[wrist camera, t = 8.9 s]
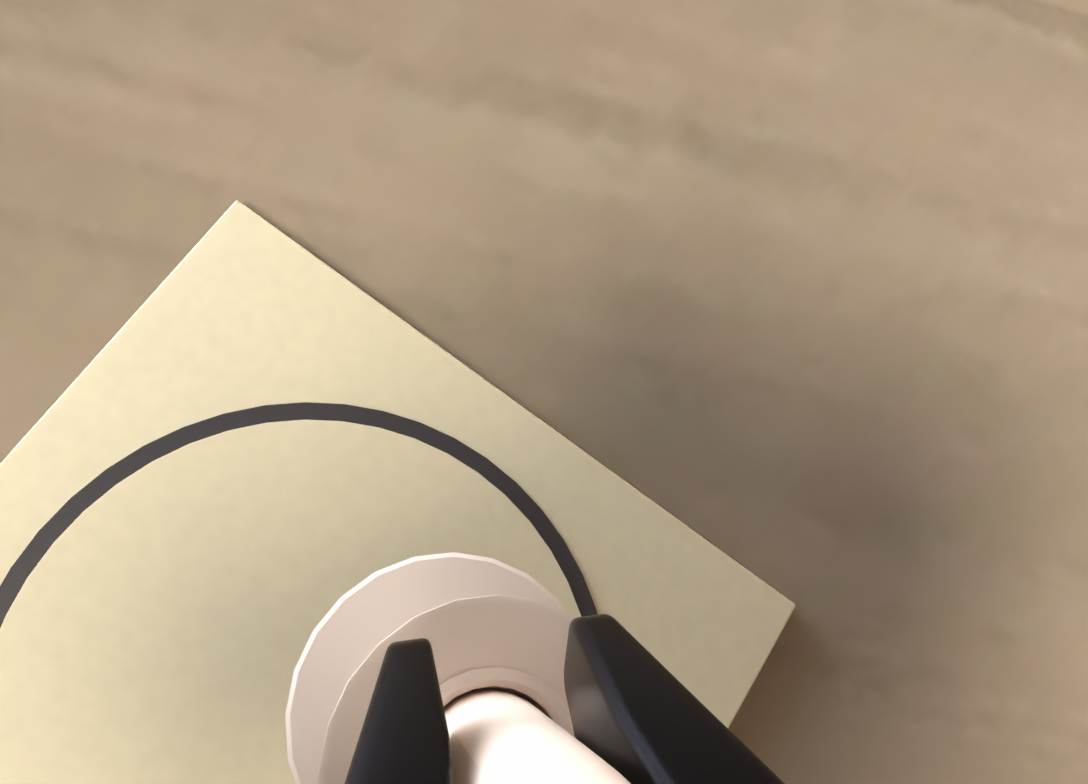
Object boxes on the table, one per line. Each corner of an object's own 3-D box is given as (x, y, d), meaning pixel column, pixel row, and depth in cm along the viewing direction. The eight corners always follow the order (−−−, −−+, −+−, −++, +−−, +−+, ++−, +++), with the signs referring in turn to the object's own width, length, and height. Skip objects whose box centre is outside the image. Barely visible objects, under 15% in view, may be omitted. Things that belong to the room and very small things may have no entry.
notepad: (389, 1317, 17) (391, 1351, 16) (-334, 852, 16) (-368, 865, 15) (785, 604, 22) (801, 605, 21) (239, 208, 21) (235, 194, 20)
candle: (592, 867, 15) (1057, 1404, 5) (275, 884, 14) (96, 1598, 4) (593, 555, 16) (976, 509, 6) (298, 549, 15) (203, 481, 5)
